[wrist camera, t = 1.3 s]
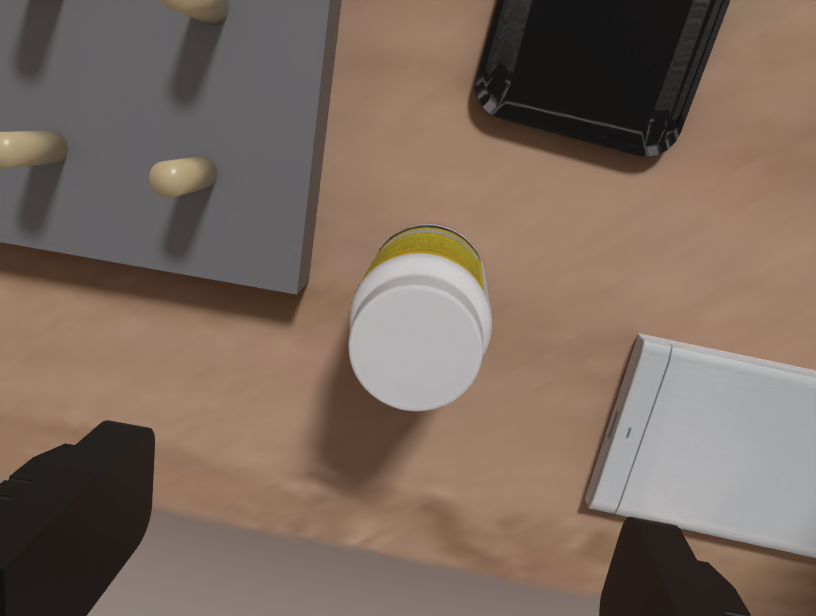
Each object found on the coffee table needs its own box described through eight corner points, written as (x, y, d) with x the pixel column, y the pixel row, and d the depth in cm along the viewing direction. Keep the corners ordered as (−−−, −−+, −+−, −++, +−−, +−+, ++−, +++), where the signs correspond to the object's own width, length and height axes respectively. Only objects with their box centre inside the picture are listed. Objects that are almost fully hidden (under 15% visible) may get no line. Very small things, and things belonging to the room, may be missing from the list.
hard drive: (953, 406, 25) (645, 341, 25) (869, 573, 28) (588, 514, 28) (923, 389, 27) (634, 328, 27) (846, 549, 29) (581, 492, 29)
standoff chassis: (351, -91, 23) (323, -146, 18) (308, 282, 27) (275, 317, 22) (-25, -150, 23) (-150, -219, 18) (-11, 225, 27) (-110, 248, 23)
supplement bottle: (357, 240, 26) (312, 294, 18) (468, 208, 26) (471, 249, 18) (392, 345, 28) (363, 439, 20) (498, 317, 27) (514, 403, 19)
